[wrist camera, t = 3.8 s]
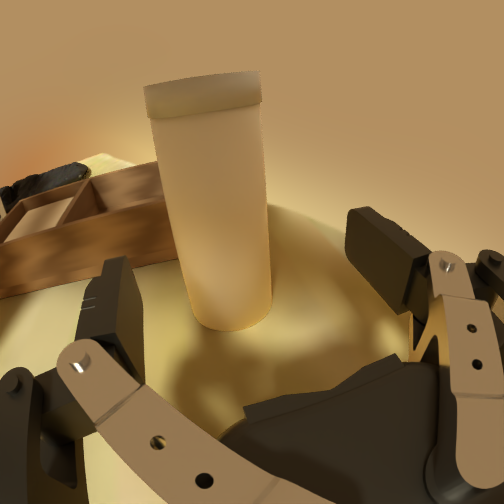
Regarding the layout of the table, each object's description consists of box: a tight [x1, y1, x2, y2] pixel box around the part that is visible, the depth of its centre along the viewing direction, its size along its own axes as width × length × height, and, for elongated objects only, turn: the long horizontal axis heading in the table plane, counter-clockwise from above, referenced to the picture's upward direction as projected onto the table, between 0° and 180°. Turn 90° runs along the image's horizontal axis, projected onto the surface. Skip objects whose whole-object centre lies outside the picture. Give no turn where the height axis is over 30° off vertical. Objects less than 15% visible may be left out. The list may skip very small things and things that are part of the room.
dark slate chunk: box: [0, 162, 88, 214], centre depth 47 cm, size 15×22×5 cm
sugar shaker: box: [143, 71, 272, 331], centre depth 16 cm, size 5×5×14 cm
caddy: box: [0, 161, 178, 299], centre depth 27 cm, size 20×13×5 cm, turn 106°
